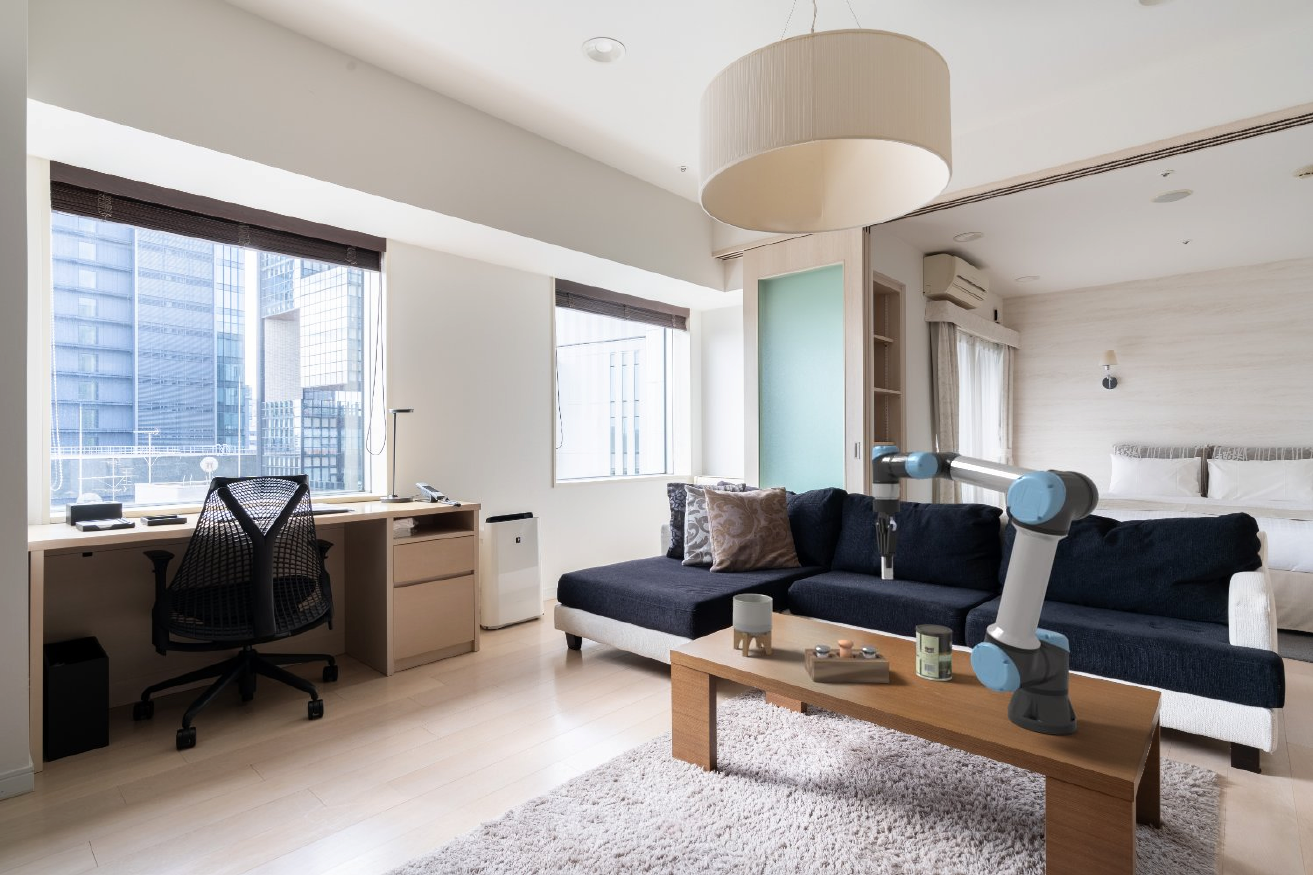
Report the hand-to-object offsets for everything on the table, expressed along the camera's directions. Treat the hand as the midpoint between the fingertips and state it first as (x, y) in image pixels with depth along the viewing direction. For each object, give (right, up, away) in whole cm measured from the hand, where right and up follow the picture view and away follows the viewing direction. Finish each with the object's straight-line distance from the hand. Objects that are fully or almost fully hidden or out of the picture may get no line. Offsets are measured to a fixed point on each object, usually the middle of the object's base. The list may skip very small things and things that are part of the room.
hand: (887, 578), depth 196 cm
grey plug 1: (-18, -29, +5) cm, 34 cm away
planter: (-36, -30, +27) cm, 54 cm away
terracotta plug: (-11, -27, +5) cm, 30 cm away
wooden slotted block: (-11, -30, +5) cm, 32 cm away
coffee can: (+16, -31, +6) cm, 35 cm away
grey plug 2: (-4, -29, +5) cm, 30 cm away
